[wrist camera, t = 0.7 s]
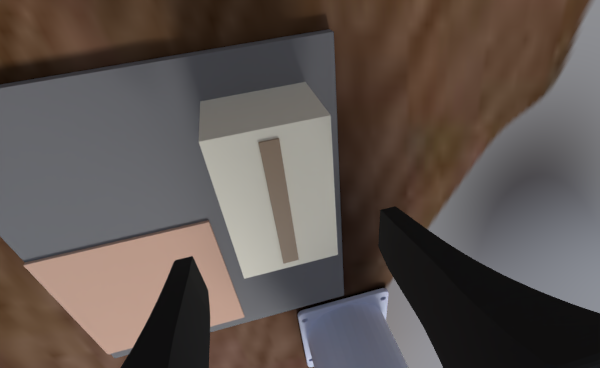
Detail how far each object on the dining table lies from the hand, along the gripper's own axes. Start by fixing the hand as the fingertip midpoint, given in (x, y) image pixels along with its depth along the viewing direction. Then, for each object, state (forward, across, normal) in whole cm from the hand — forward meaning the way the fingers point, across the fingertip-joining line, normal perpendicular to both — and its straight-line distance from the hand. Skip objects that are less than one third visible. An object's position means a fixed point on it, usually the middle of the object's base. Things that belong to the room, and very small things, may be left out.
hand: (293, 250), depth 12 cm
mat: (+7, +5, +4) cm, 10 cm away
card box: (+7, 0, 0) cm, 7 cm away
